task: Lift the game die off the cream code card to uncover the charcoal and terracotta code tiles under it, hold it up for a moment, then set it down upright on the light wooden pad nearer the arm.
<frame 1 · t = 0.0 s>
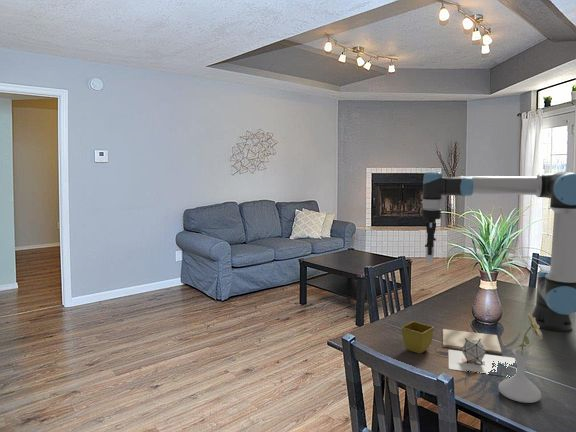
hand: (430, 259, 187), 28 cm above the table, tool pointing down, fingers open, 13 cm apart
flower pot: (416, 350, 163), on the table
code card: (482, 363, 152), on the table
flower in vase: (520, 396, 131), on the table
wooden pad: (470, 342, 170), on the table
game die: (473, 362, 153), resting on code card
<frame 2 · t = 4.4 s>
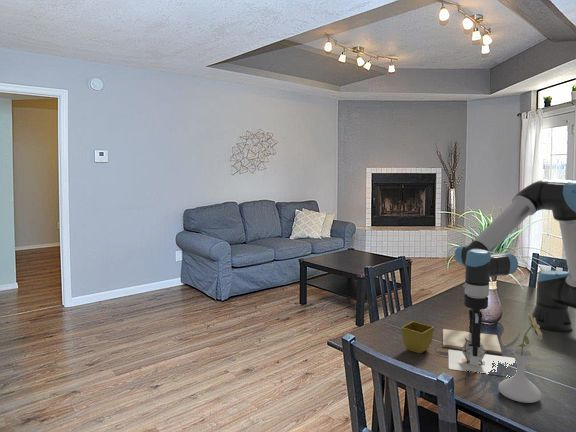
hand: (473, 357, 153), 2 cm above the table, tool pointing down, fingers closed on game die, 9 cm apart
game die: (473, 362, 153), resting on code card, touching gripper
everything else where it was.
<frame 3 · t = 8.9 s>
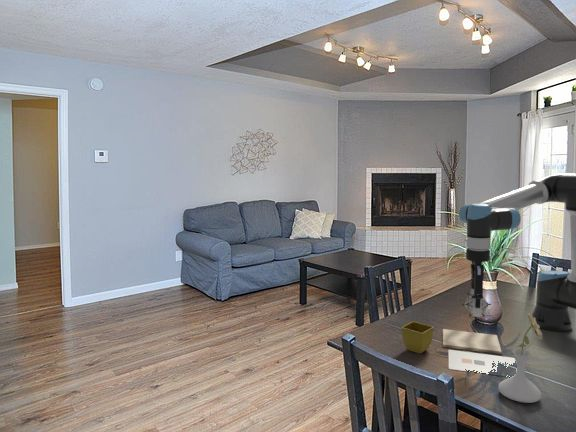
hand: (475, 311, 155), 17 cm above the table, tool pointing down, fingers closed on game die, 9 cm apart
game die: (475, 316, 155), point 15 cm above the table, touching gripper
everything else where it was.
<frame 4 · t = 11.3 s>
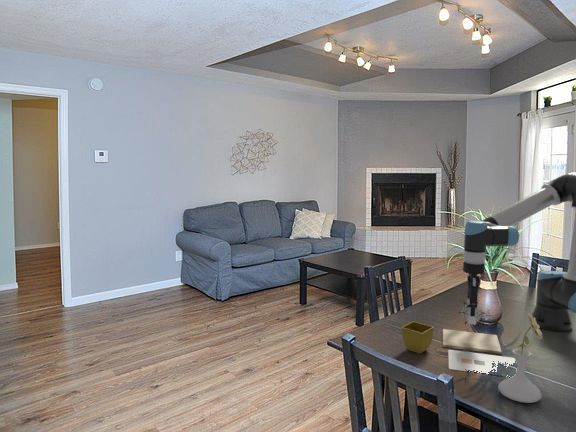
hand: (471, 319, 169), 9 cm above the table, tool pointing down, fingers closed on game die, 9 cm apart
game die: (470, 323, 169), point 8 cm above the table, touching gripper
everything else where it was.
when the fingers open (4 cm above the table, at t = 13.2 s): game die drops 2 cm, resting on wooden pad.
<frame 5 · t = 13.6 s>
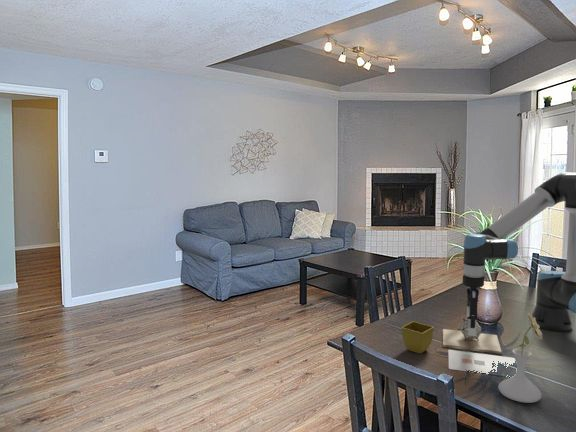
hand: (470, 329, 169), 5 cm above the table, tool pointing down, fingers open, 13 cm apart
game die: (470, 339, 170), point 1 cm above the table, touching wooden pad
everything else where it was.
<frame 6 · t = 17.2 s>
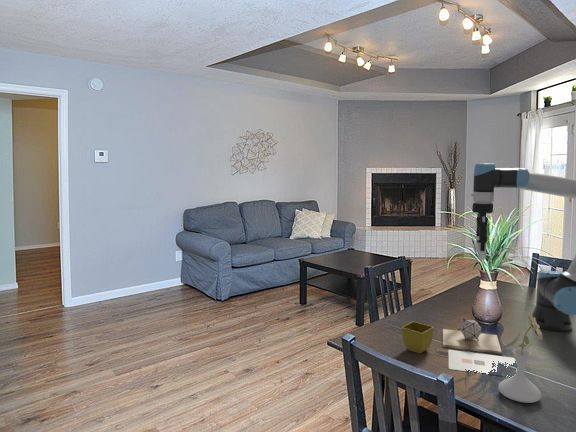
hand: (480, 255, 176), 32 cm above the table, tool pointing down, fingers open, 13 cm apart
nothing on the table moved.
at the end: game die inside the target area on the wooden pad (0.2 cm from its centre), point 0.8 cm above the wooden pad's base; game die tilted 1°; the gripper is holding nothing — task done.
